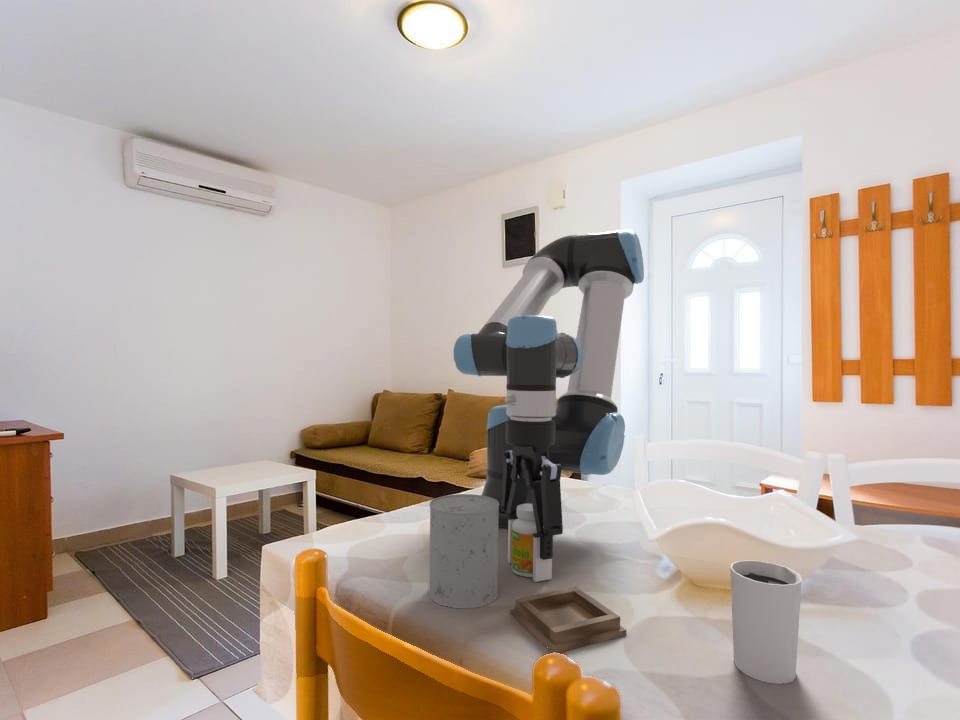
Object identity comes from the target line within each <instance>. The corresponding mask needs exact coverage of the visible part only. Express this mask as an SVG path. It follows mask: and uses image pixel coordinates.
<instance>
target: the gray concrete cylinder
mask: <svg viewBox="0 0 960 720" xmlns="http://www.w3.org/2000/svg"><path fill="white" fill-rule="evenodd" d="M429 509H430V510H429V588H428V596H429V599H431V600H432V601H433V602H434V603H436V604H437V603H438V604H437V605H439V604H440V605H439V606H442V605H443V607H445V606H448V607H447V608H450V607H452V608H451V609H459V608H460V609H461V610H462V609H463V610H464V609H476V608H479V607H484V606H487V605H488V604H491V603H493V602H494V601H495V600H496V599H497V598H498V597H499V596H498V595H499V580H498V579H499V527H498V518H499V502H498V501H497V500H496V499H493V498H491V497H487V496H482V494H481V495H480V494H469V493H468V494H467V493H464V494H463V493H459V494H456V493H455V494H448V495H442V496H439V497H436V498H434V499H433V498H432V499H431V501H429ZM460 609H459V610H460Z"/></svg>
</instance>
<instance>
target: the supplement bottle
mask: <svg viewBox="0 0 960 720" xmlns="http://www.w3.org/2000/svg"><path fill="white" fill-rule="evenodd" d="M517 517H518V519H516V520H515V521H514V522H513V524H512V563H511V570H512V573H514V574H515V575H518V576H521V577H524V578H533V534H534V533H537V530H536V524H535V518H534V512H533V506H532V504H520V505H518V506H517Z"/></svg>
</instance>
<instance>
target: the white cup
mask: <svg viewBox="0 0 960 720" xmlns="http://www.w3.org/2000/svg"><path fill="white" fill-rule="evenodd" d="M729 569H730V571H729V572H730V591H731V592H730V593H731V594H730V595H731V619H732V622H731V623H732V643H733V645H732V646H733V662H734V664H735V666H736V668H737V669H738V670H739V671H740V672H741V673H743V674H744V675H747V676H749V677H750V678H753V679H755V680H757V681H761V682H764V683H768V684H769V683H770V684H776V685H784V684H790V683H792V682H793V681H795V680H796V677H797V676H796V675H797V659H798V658H797V657H798V643H799V626H800V613H801V612H800V611H801V595H802V594H801V593H802V581H803V580H802V579H803V578H802V577H803V576H802V575H801V574H799V573H798V572H797V571H795V570H793V569H791V568H789V567H787V566H784V565H781V564H777V563H775V562H774V563H773V562H767V561H762V560H752V559H750V560H749V559H746V560H738V561H735V562H732V563H731V565H730V568H729ZM794 679H795V680H794ZM791 681H792V682H791ZM783 683H784V684H783Z"/></svg>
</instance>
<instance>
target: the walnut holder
mask: <svg viewBox="0 0 960 720" xmlns="http://www.w3.org/2000/svg"><path fill="white" fill-rule="evenodd" d="M509 609H510V615H511V616H512V617H513V618H514V619H515V620H517V622H519V624H521V625H522V626H523V627H524V628H525V629H526V630H527V631H528V632H530V634H531V635H532V636H534V637H535V639H537V640H538V641H539V642H540V643H541V644H542V645H543V646H544V645H545V646H546V647H548V648H547V650H549V651H550V652H551V653H552V652H558V653H557V654H559V653H563V652H567V651H571V650H573V649H578V648H582V647H585V646H589V645H594V644H598V643H600V642H605V641H609V640H612V639H616V638H620V637H624V636H627V629H626V628H625V627H623V626H622V625H621V616H620V615H618V614H617V613H615V612H614V611H612V609H610V608H608V607H607V606H605V605H604V604H602V603H601V602H600V601H598V600H596V598H593V597H591V596H590V595H589V594H587V593H586V592H584V591H583V590H581V589H580V588H578V587H577V586H573V587H568V588H564V589H557V590H553V591H549V592H544V593H543V592H542V593H538V594H534V595H533V594H532V595H528V596H523V597H519V598H515V608H514V607H513V608H509ZM545 646H544V647H545ZM546 647H545V648H546Z"/></svg>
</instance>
